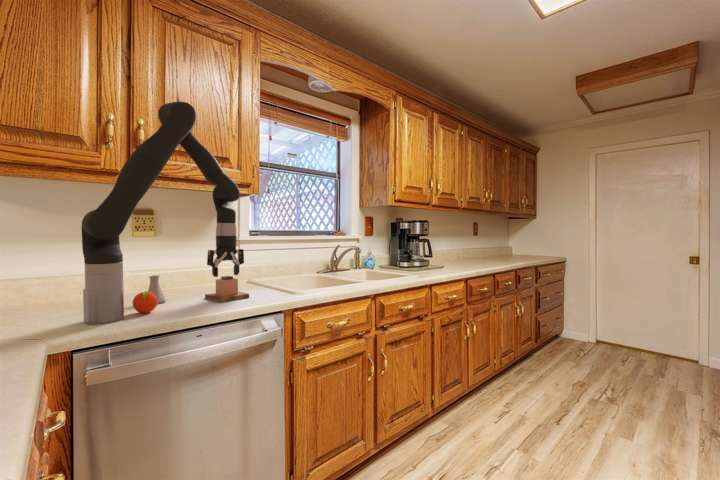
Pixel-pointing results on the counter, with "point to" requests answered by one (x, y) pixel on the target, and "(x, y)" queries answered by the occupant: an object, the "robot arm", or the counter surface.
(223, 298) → the post base
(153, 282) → the flask
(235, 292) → the collar
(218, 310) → the counter surface
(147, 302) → the red tomato
